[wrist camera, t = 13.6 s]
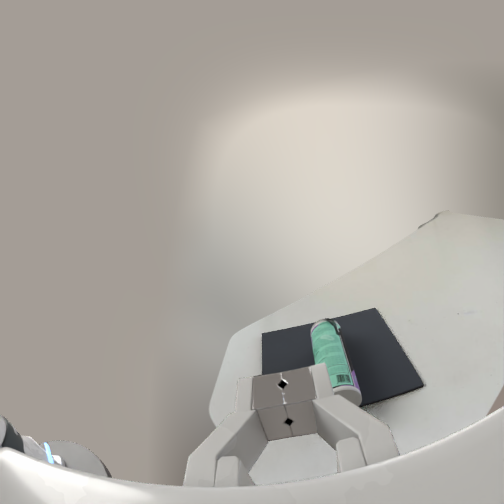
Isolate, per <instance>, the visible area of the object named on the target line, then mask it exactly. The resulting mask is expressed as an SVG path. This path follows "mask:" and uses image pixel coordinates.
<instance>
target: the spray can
mask: <svg viewBox="0 0 504 504" xmlns="http://www.w3.org/2000/svg"><path fill="white" fill-rule="evenodd" d="M311 341H312V347H313V353H314V360H315V365H316V364H320V363H325V364H326V366H327V370H328V373H329V377H330V381H331V384H332V388H333V391H334V395H338V394H339V395H341V396H342V397H344V398H345V399H347V400H348V401H350V402H352V403H353V404H355V405H356V406H358V407H359V405H360V404H361V402H362V396H361V392H360V388H359V385H358V382H357V378H356V375H355V372H354V368H353V365H352V362H351V359H350V355H349V352H348V349H347V346H346V343H345V340H344V337H343V334H342V331H341V328H340V326H339V324H338V323H337V322H336V321H335V320H333V319H329V318H325V319H321V320H319V321H317V322H316V323H315V324H314V325H313V326H312V328H311Z"/></svg>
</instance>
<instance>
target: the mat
mask: <svg viewBox="0 0 504 504" xmlns="http://www.w3.org/2000/svg"><path fill="white" fill-rule="evenodd" d="M332 319H333V320H335V321H336V322H337V323H338V324H339V326H340V328H341V331H342V334H343V337H344V340H345V343H346V346H347V349H348V352H349V355H350V359H351V362H352V365H353V368H354V372H355V375H356V378H357V382H358V385H359V388H360V392H361V396H362V402H361V404H360V405H359V407H361V406H365V405H368V404H372V403H375V402H379V401H382V400H385V399H388V398H391V397H394V396H397V395H400V394H403V393H406V392H409V391H412V390H415V389H417V388H420V387H423V386H424V384H423V382H422V381H421V379H420V377H419V376H418V374H417V372H416V371H415V369H414V367H413V366H412V364H411V363H410V361H409V359H408V358H407V356H406V355H405V353H404V351H403V350H402V348H401V347H400V345H399V343H398V342H397V340H396V339H395V337H394V336H393V334H392V332H391V331H390V329H389V328H388V326H387V325H386V323H385V322H384V320H383V319H382V317H381V316H380V314H379V313H378V311H377V310H376V308H372V309H368V310H364V311H361V312H357V313H353V314H349V315H345V316H341V317H337V318H332ZM315 323H316V322H315ZM315 323H311V324H306V325H302V326H297V327H292V328H287V329H282V330H277V331H272V332H267V333H262V375H265V374H272V373H278V372H284V371H289V370H294V369H299V368H304V367H308V366H312V365H315V360H314V353H313V347H312V341H311V328H312V326H313V325H314V324H315Z"/></svg>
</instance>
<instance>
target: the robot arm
mask: <svg viewBox="0 0 504 504" xmlns="http://www.w3.org/2000/svg"><path fill="white" fill-rule="evenodd" d="M314 433H318V435H319V436H321V437H322V438H323V439H324V440H325V441H326V442H327V443H328V444H329V445H330V446H331V447H332V448H333V449H334V450H336V455H337V474H332V475H327V476H322V477H317V478H311V479H306V480H299V481H293V482H285V483H277V484H267V485H256V486H255V484H254V482H253V481H252V479H251V477H250V476H249V474H248V473H249V471H250V470H251V468H252V467H253V465H254V464H255V462H256V461H257V459H258V458H259V456H260V455H261V453H262V452H263V450H264V448H265V447H266V445H267V444H268V441H271V440H278V439H283V438H289V437H295V436H302V435H308V434H314ZM44 444H45V448H46V451H45V450H44V449H43V448H42V447H41V446H40V445H38V444H37V443H36V442H35V441H34V440H33V439H32V438H31V437H29V436H21V435H20V434H19V433H18V432H17V431H16V429H15V428H14V427H13V425H12V424H11V423H10V422H8V420H7V419H6V418H5V417H3V416H1V415H0V504H504V406H503V407H501V408H500V409H498V410H496V411H495V412H493V413H491V414H490V415H488V416H486V417H484V418H482V419H481V420H479V421H477V422H475V423H473V424H471V425H469V426H468V427H466V428H464V429H462V430H460V431H458V432H455V433H453V434H451V435H449V436H447V437H445V438H443V439H440V440H438V441H436V442H433V443H431V444H429V445H426V446H424V447H421V448H419V449H416V450H414V451H411V452H408V453H405V454H403V455H400V454H399V451H398V448H397V445H396V443H395V440H394V438H393V435H392V432H391V430H390V427H389V425H387V424H385V423H384V422H382V421H380V420H379V419H377V418H375V417H374V416H372V415H371V414H369V413H367V412H366V411H364V410H363V409H361V408H359V407H358V406H356V405H355V404H353V403H352V402H350V401H348V400H347V399H345V398H344V397H342V396H341V395H339V394H338V395H334V391H333V388H332V384H331V381H330V377H329V373H328V370H327V366H326V364H325V363H320V364H316V365H312V366H308V367H304V368H299V369H294V370H289V371H284V372H278V373H272V374H265V375H258V376H253V377H244V378H239V379H238V382H237V393H236V404H235V412H232V413H230V414H229V415H228V416H227V417H226V418H225V419H224V420H223V421H222V423H221V424H220V425H219V426H218V427H217V428H216V429H215V430H214V431H213V432H212V433H211V434H210V435H209V436H208V437H207V438H206V439H205V440H204V441H203V443H201V444H200V445H199V447H198V448H197V449H196V450H195V451H194V452H193V453H192V454H191V455H190V456H189V458H188V462H187V467H186V472H185V477H184V482H183V486H168V485H158V484H149V483H140V482H133V481H127V480H120V479H115V478H110V477H104V476H100V475H95V474H91V473H86V472H82V471H78V470H74V469H71V468H67V467H65V461H64V460H63V459H62V458H61V457H60V456H57V455H51V452H50V449H49V446H48V445H47V443H44Z"/></svg>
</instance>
